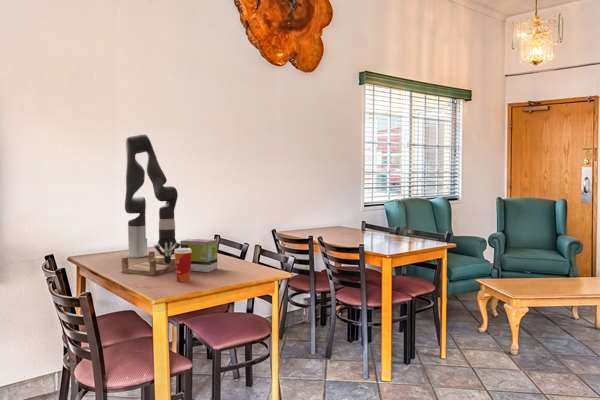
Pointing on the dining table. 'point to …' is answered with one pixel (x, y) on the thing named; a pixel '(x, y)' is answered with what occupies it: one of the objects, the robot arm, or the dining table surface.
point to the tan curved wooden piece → (162, 260)
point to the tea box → (202, 253)
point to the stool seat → (146, 267)
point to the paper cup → (183, 264)
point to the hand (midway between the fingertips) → (167, 263)
